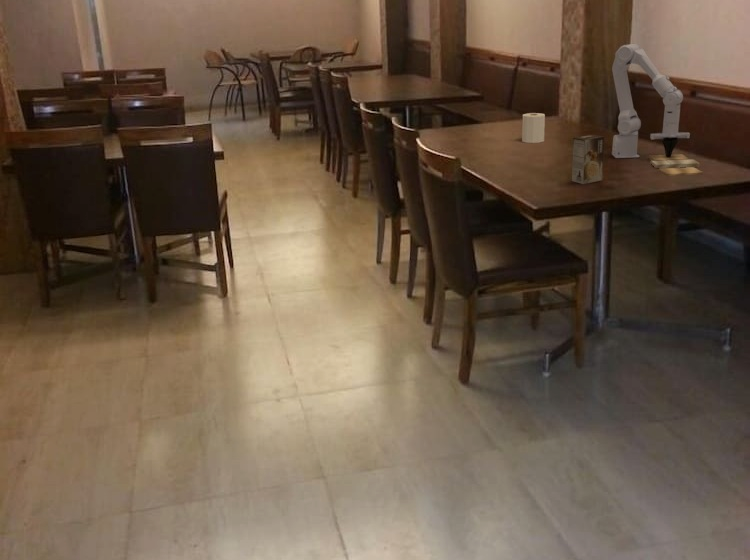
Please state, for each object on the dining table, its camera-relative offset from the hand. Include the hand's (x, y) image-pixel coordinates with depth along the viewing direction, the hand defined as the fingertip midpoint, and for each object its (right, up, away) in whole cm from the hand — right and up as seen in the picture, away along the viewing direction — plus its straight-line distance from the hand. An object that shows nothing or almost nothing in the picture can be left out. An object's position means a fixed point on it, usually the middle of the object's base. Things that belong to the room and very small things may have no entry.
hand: (668, 156), depth 303 cm
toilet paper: (-43, +15, +50) cm, 68 cm away
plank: (-3, -9, -19) cm, 22 cm away
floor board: (-1, -5, -9) cm, 11 cm away
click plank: (0, -2, -1) cm, 2 cm away
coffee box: (-39, -13, -25) cm, 48 cm away
